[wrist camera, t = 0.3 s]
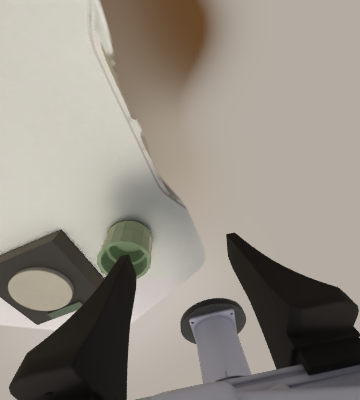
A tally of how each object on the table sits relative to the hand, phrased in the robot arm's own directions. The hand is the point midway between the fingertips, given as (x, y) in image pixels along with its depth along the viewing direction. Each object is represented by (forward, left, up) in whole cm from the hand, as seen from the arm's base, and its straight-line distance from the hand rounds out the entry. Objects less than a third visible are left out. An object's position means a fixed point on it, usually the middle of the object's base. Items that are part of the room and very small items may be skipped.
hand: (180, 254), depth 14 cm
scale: (-7, +19, -10) cm, 22 cm away
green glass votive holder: (-4, +7, -10) cm, 12 cm away
